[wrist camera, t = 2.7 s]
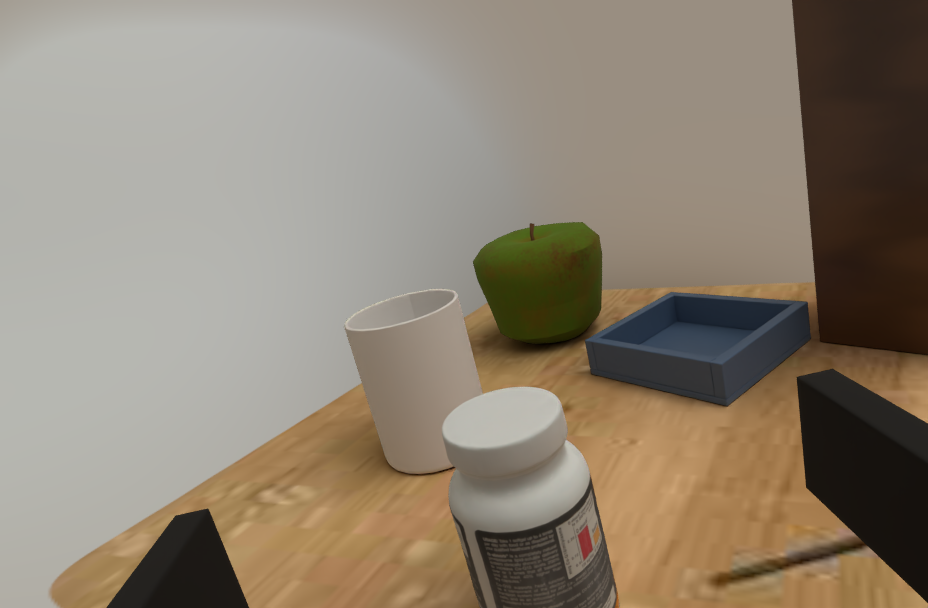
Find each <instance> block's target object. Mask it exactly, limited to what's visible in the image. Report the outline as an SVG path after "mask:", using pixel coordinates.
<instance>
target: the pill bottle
mask: <svg viewBox="0 0 928 608" xmlns="http://www.w3.org/2000/svg"><path fill="white" fill-rule="evenodd" d="M567 433H568V429H567V424H566V419H565V416H564V412H563V409H562V405H561V403H560V401H559V399H558V398H557V397H556V395H554V394H553V393H551V392H549V391H547V390H544V389H540V388H535V387H513V388H505V389H499V390H495V391H491V392H488V393H485V394H482V395H479V396H477V397H474V398H472V399H470V400H468V401H466V402H464V403H463V404H461V405H460V406H458V407H457V408H456V409H454V410H453V411H452V412H451V413H450V414H449V415H448V416H447V418H446V419H445V421H444V423H443V425H442V437H443V441H444V445H445V449H446V453H447V457H448V460H449V461H450V463H451V464H452V465H453V466H454V467H455V468H456V470H455V471H454V473H453V476H452V478H451V482H450V486H449V506H450V509H451V513H452V516H453V519H454V522H455V525H456V529H457V532H458V535H459V538H460V541H461V545H462V549H463V552H464V555H465V558H466V561H467V565H468V569H469V572H470V576H471V580H472V583H473V587H474V590H475V593H476V596H477V599H478V603H479V606H480V608H620V605H619V599H618V593H617V588H616V584H615V579H614V575H613V571H612V567H611V563H610V559H609V554H608V550H607V545H606V541H605V536H604V532H603V528H602V524H601V519H600V515H599V510H598V507H597V503H596V497H595V493H594V488H593V484H592V479H591V475H590V472H589V468H588V465H587V463H586V461H585V459H584V457H583V455H582V454H581V452H580V451H579V450H578V449H577V448H576V447H575V446H574V445H573V444H571V443H570V442H569V441H567V440H566V437H567Z"/></svg>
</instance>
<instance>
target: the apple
mask: <svg viewBox="0 0 928 608" xmlns="http://www.w3.org/2000/svg"><path fill="white" fill-rule="evenodd" d="M473 264H474V268H475V272H476V276H477V279H478V282H479V284H480V286H481V288H482V290H483V293H484V295H485V297H486V299H487V302H488V304H489V306H490V308H491V311H492V313H493V316H494V318H495V320H496V323H497V325H498V328H499V330H500V333H502V334H503V335H505V336H507V337H509V338H512V339H515V340H519V341H522V342H526V343H537V344H541V343H554V342H560V341H566V340H569V339H571V338H574V337H577V336H579V335H580V334H581V333H583V332H584V331H586V329H587V328H588V327H589V326H590V325H591V324H592V322H593V321H594V320H595V319H596V318H597V317H598V315H599V313H600V310H601V295H602V251H601V244H600V238H599V235H598V234H596V233H595V232H594V231H593V230H591V229H590V228H589V227H588V226H586V225H585V224H584V223H583V222H576V223H575V222H573V223H556V224H548V225H541V226H534V224H530V228H525V229H521V230H517V231H514V232H511V233H509V234H507V235H504V236H502V237H499V238H497V239H496V240H494V241H492V242H490V243H488V244H487V245H485V246H484V247H483V248H482V249H481V250H480V252H479V253H478V255H477V256H476V258H475V259H474V261H473Z"/></svg>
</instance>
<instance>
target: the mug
mask: <svg viewBox="0 0 928 608" xmlns="http://www.w3.org/2000/svg"><path fill="white" fill-rule="evenodd" d="M344 327H345V330H346V333H347V337H348V340H349V343H350V346H351V349H352V353H353V356H354V359H355V362H356V365H357V369H358V372H359V375H360V378H361V381H362V384H363V388H364V391H365V394H366V397H367V400H368V404H369V407H370V410H371V413H372V416H373V419H374V423H375V426H376V429H377V432H378V435H379V439H380V442H381V445H382V448H383V451H384V454H385V457H386V459H387V461H388V463H389V464H390V465H391V466H392V467H393V468H395V469H396V470H398V471H401V472H405V473H411V474H424V473H432V472H437V471H441V470H445V469H448V468H451V467H454V466H453V465H452V464H451V463H450V461H449V460H448V457H447V453H446V449H445V445H444V441H443V437H442V425H443V423H444V421H445V419H446V418H447V416H448V415H449V414H450V413H451V412H452V411H453V410H454V409H456V408H457V407H458V406H460V405H461V404H463V403H464V402H466V401H468V400H470V399H472V398H474V397H477V396H479V395H482V394H483V392H482V388H481V384H480V381H479V377H478V373H477V369H476V365H475V361H474V357H473V353H472V349H471V345H470V341H469V338H468V334H467V330H466V326H465V322H464V318H463V314H462V310H461V306H460V303H459V299H458V295H457V292H455V291H452V290H448V289H431V290H423V291H418V292H413V293H408V294H405V295H400V296H396V297H393V298H390V299H387V300H384V301H381V302H378V303H376V304H373V305H370V306H368V307H366V308H364V309H362V310H360V311H358V312H357V313H355V314H354V315H352V316H351V317H350V318H349V319H348V320H346V322H345V325H344Z"/></svg>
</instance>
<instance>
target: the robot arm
mask: <svg viewBox="0 0 928 608" xmlns="http://www.w3.org/2000/svg"><path fill="white" fill-rule="evenodd" d="M797 386H798V398H799V409H800V421H801V433H802V444H803V456H804V467H805V479H806V488H807V489H808V490H809V491H811V492H812V493H813V494H814V495H815V496H816V497H817V498H818V499H819V500H820V501H821V502H822V503H823V504H824V505H825V506H826V507H827V508H828V509H829V510H831V511H832V512H833V513H834V514H835V515H836V516H837V517H838V518H839V519H840V520H841V521H842V522H843V523H844V524H845V525H846V526H847V527H848V528H849V529H851V530H852V531H853V532H854V533H855V534H856V535H857V536H858V537H859V538H860V539H861V540H862V541H863V542H864V543H865V544H866V545H867V546H868V547H869V548H871V549H872V550H873V551H874V552H875V553H876V554H877V555H878V556H879V557H880V558H881V559H882V560H883V561H884V562H885V563H886V564H887V565H888V566H889V567H891V568H892V569H893V570H894V571H895V572H896V573H897V574H898V575H899V576H900V577H901V578H902V579H903V580H904V581H905V582H906V583H907V584H908V585H909V586H911V587H912V588H913V589H914V590H915V591H916V592H917V593H918V594H919V595H920V596H921V597H922V598H923V599H924V600H925V601H926V602H927V603H928V423H926V422H924V421H922V420H921V419H919V418H917V417H915V416H914V415H912V414H910V413H908V412H907V411H905V410H903V409H902V408H900V407H898V406H896V405H895V404H893V403H891V402H889V401H888V400H886V399H884V398H882V397H881V396H879V395H877V394H875V393H874V392H872V391H870V390H868V389H867V388H865V387H863V386H861V385H860V384H858V383H856V382H854V381H853V380H851V379H849V378H848V377H846V376H844V375H842V374H841V373H839V372H837V371H835V370H834V369H830V370H825V371H821V372H816V373H812V374H808V375H803V376H799V377H797ZM107 608H249V606H248V604H247V602H246V599H245V597H244V594H243V592H242V589H241V587H240V585H239V582H238V580H237V577H236V575H235V572H234V570H233V567H232V565H231V563H230V560H229V558H228V555H227V553H226V550H225V548H224V546H223V543H222V541H221V538H220V536H219V533H218V531H217V528H216V526H215V524H214V521H213V519H212V516H211V514H210V511H209V509H204V510H199V511H195V512H190V513H186V514H181V515H177V516H175V517H174V518H173V520H172V521H171V522H170V524H169V525H168V526H167V528H166V529H165V530H164V532H163V533H162V534H161V536H160V537H159V538H158V540H157V541H156V542H155V544H154V545H153V546H152V548H151V549H150V550H149V552H148V553H147V554H146V556H145V557H144V558H143V560H142V561H141V562H140V564H139V565H138V566H137V568H136V569H135V570H134V572H133V573H132V574H131V576H130V577H129V578H128V580H127V581H126V582H125V584H124V585H123V586H122V588H121V589H120V590H119V592H118V593H117V594H116V596H115V597H114V598H113V600H112V601H111V602H110V604H109V605H108V606H107Z"/></svg>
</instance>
